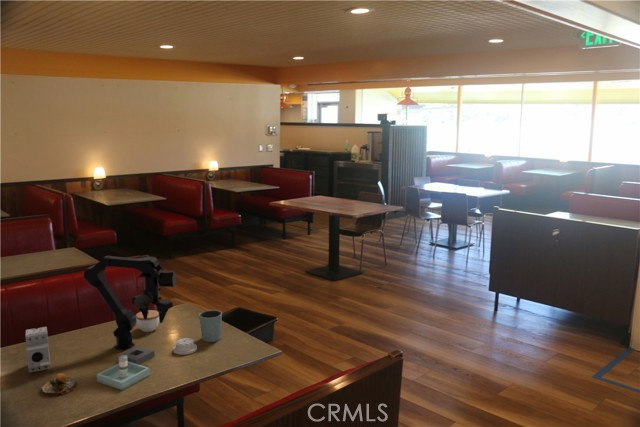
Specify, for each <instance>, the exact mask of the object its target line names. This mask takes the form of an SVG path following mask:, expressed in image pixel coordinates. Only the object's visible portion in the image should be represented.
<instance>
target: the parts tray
mask: <svg viewBox="0 0 640 427" xmlns="http://www.w3.org/2000/svg"><path fill="white" fill-rule="evenodd" d="M127 364H128V377H127V378H120V377H119V374H120V372H119V363H117V364H115V365H113V366H111V367H108V368H107V369H105V370H103V371H101V372H99V373H96V382H97V383H99V384H102V385H105V386H108V387H111V388H115V389H116V390H120V391H124V390H125V389H128V388H130V387H131V386H133V385H135V384H137V383H139V382H141V381H142V380H144V379H146V378H147V377H149V376H150V375H151V371H150V370H151V369H150V367H147V366H144V365H141V364H139V365H138V364H135V363H131V362H128V361H127Z"/></svg>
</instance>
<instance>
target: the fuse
mask: <svg viewBox="0 0 640 427" xmlns="http://www.w3.org/2000/svg"><path fill="white" fill-rule="evenodd" d="M127 360H128V358H127V356H126V355H122V356H119V355H118V364H119V372H120V374H119V377H120V378H127V377H128V364H127Z"/></svg>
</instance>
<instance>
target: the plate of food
mask: <svg viewBox="0 0 640 427" xmlns="http://www.w3.org/2000/svg"><path fill="white" fill-rule="evenodd" d="M76 387H77V381H76V379H75V378H72V377H70V376H69V377H68V375H67V374H66V373H64V372H63V373H61V372H60V373H57V374H56V377H55V378H54V379H50V380H49V381H46V382H45V383H43V385H42V386H41V388H40V389H41V390H42V392H43V393H45V394H50V395H51V397H58V396H59V394H60V395H66V394H68V393H69V392H71V391H74V390H75V389H76Z"/></svg>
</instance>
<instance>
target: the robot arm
mask: <svg viewBox="0 0 640 427" xmlns="http://www.w3.org/2000/svg"><path fill="white" fill-rule="evenodd" d="M108 267H111V268H121V269H122V268H123V269H124V268H125V269H134V270H136V271H139V272H141V274H139V275H138V277H139V278H143V279H144V280H143V282H144V289H142V292H141V294H138V295H135V296H133V297H132V300H131V301H132V302H131V304H132V305H134V306H135V308H136V309H137V308H138V309H139V310H140V312H142V315H143V317H144V319H147V315H148V310H149V306H150V305H153V306H156V311H158V312H159V323H160V324H162V323H163V322H164V320H165V318H166V315H167V313H168V312H169V310H170V309H171V308H173V307H174V302H173V300H169V299H162V297H161V296H160V291H161V290H162V288H175V287H176V285H177V282H178V281H177V279H178V277H177V275H176V273H175V271H174V270H169V271H165V269H164V268H163V267H162V265H161V264H160V263H159V260H158V259H157V257H156V256H145V257H139V258H137V257H134V258H133V257H125V256H124V257H123V256H115V255H113V256H112V255H106V256H104V257H103V258H101V260H99V261H98V262H97V263H96V264H94V265H92V266H90V267H88V268H87V269H85V271H84V272H83V278H84V280H85V281H86V282H87V283H88V284H89V285H90V286H92V287H94V288H95V289H96V290H97V291H98V293H99V294H100V296H101V297H102V299H103V300H104V302H105V303H106V304H107V306H108V308H109V309H110V311H111V312H112V313H113V315H114V317H115V323H116V325H117V326H116V327H117V328H116V329H114V331H113V332H112V333H113V336H114V337H115V340H116V341H115V342H116V344H115V345H113V348H115V349H119V350H122V351H125V350H128V349H131V347H132V348H133V347H134V346H136V343H134V342H133V336H132V332H131V331H132V330H133V328H134V327H135V326H136V325H137V320H136V314H134V312H133V310H132V309H129V310H127V309H126V308H125V307H124V305H122V302H120V299H119V298H118V297H117V295H116V293H114V290H113V289H112V287H110V285H109V283H108V282H107V279H106V278H107V275H106V273H105V270H106V269H108Z"/></svg>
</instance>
